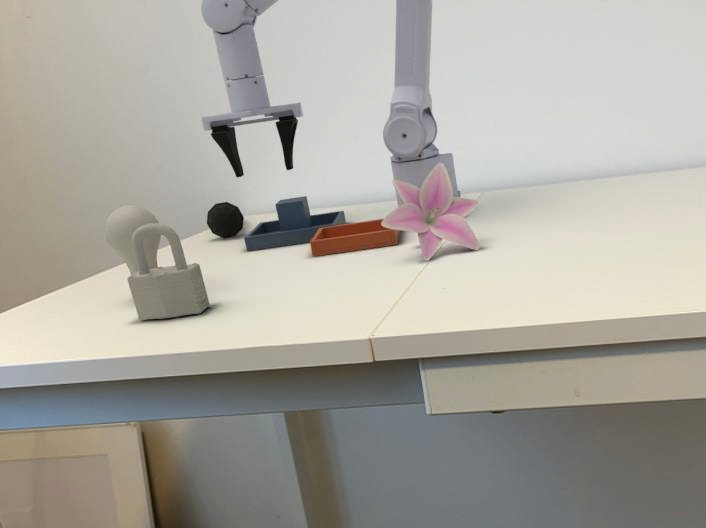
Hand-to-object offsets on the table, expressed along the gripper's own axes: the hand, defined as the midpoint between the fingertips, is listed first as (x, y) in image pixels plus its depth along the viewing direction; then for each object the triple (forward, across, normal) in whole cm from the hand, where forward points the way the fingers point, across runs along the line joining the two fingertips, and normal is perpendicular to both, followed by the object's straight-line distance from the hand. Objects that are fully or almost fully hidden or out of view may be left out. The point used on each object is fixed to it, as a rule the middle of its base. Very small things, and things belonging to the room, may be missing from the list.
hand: (265, 172), depth 122 cm
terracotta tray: (+9, +14, -16) cm, 23 cm away
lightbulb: (+10, -10, -30) cm, 33 cm away
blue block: (+9, +4, -5) cm, 11 cm away
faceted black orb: (+10, -9, +10) cm, 17 cm away
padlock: (+10, -4, -40) cm, 41 cm away
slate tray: (+9, +4, -5) cm, 11 cm away
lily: (+10, +25, -28) cm, 39 cm away
